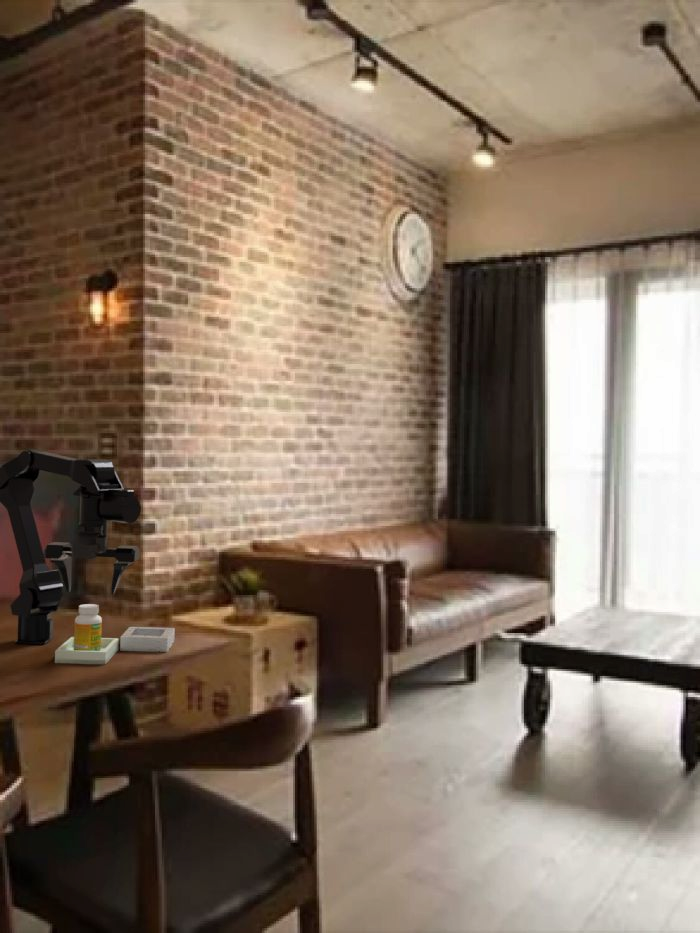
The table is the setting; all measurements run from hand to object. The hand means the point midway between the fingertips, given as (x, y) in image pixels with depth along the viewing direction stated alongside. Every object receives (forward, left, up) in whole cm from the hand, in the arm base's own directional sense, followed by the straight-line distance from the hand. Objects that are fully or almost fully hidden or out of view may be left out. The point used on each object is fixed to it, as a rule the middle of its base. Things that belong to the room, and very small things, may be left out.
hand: (90, 592), depth 183 cm
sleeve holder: (+11, +7, -13) cm, 18 cm away
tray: (+1, -3, -13) cm, 13 cm away
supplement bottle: (0, -3, -12) cm, 12 cm away
